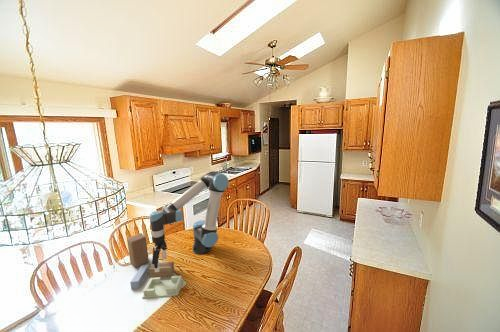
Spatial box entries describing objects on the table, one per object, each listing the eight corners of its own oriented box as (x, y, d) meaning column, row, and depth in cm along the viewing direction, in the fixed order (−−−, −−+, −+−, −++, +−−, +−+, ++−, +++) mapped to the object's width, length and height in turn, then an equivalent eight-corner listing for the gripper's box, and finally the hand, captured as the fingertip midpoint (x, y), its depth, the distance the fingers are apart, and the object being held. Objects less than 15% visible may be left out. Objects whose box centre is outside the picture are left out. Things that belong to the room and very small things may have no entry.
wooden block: (149, 261, 153) (146, 236, 150) (134, 268, 146) (131, 242, 143) (144, 256, 160) (141, 232, 157) (130, 262, 153) (126, 237, 149)
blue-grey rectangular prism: (142, 271, 143) (141, 265, 142) (149, 271, 143) (148, 264, 142) (131, 289, 127) (130, 281, 126) (138, 288, 127) (137, 281, 126)
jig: (151, 282, 132) (150, 276, 131) (183, 279, 133) (182, 274, 133) (142, 298, 119) (141, 292, 119) (177, 295, 121) (177, 289, 120)
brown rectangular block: (153, 272, 141) (152, 263, 140) (174, 271, 142) (173, 261, 141) (150, 278, 135) (149, 269, 134) (172, 277, 136) (171, 267, 135)
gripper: (159, 226, 146) (161, 254, 149) (143, 245, 121) (147, 278, 125) (170, 226, 146) (172, 253, 150) (157, 245, 122) (160, 277, 125)
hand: (161, 265), depth 137 cm, fingers open, 13 cm apart
